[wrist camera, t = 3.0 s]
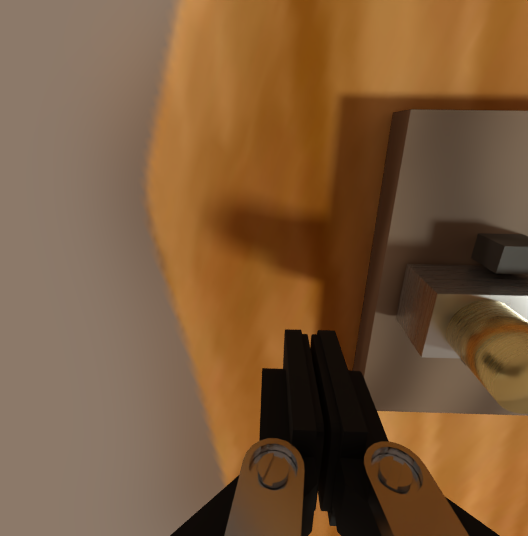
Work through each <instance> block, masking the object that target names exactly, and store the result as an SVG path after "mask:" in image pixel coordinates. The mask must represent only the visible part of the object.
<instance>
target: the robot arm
mask: <svg viewBox="0 0 528 536" xmlns="http://www.w3.org/2000/svg"><path fill="white" fill-rule="evenodd" d="M317 493H318V495H319V503H320V509H321V511H328V517H329V524H330V526H337V532H338V533H339V534H340V535H341V536H499V535H498V534H497V533H495V532H494V531H492V530H491V529H490V528H488V527H487V526H485V525H484V524H483V523H481V522H480V521H478V520H477V519H476V518H474V517H473V516H471V515H470V514H469V513H467V512H466V511H464V510H463V509H462V508H460V507H459V506H457V505H456V504H455V503H453V502H452V501H450V500H449V499H448V498H446V497H445V496H444V495H443V493H442V491H441V490H440V488H439V487H438V485H437V483H436V482H435V480H434V479H433V477H432V475H431V474H430V472H429V471H428V469H427V467H426V466H425V465H424V463H423V462H422V461H421V459H420V458H419V457H418V456H417V455H416V454H414V453H413V452H412V451H411V450H410V449H408V448H406V447H404V446H402V445H400V444H397V443H393V442H389V441H388V439H387V436H386V434H385V431H384V428H383V426H382V423H381V421H380V418H379V415H378V413H377V410H376V408H375V405H374V402H373V400H372V397H371V395H370V392H369V390H368V387H367V384H366V382H365V379H364V377H363V374H362V372H360V371H348V369H347V366H346V363H345V360H344V357H343V354H342V351H341V348H340V345H339V342H338V339H337V336H336V333H335V331H328V330H318V332H317V335H316V334H312V336H311V347H310V345H309V340H308V335H307V334H302V332H301V330H285V338H284V360H283V369H267V368H262V390H261V415H260V441H258V442H257V443H255V444H253V445H252V446H251V447H250V449H249V450H248V451H247V452H246V455H245V457H244V459H243V463H242V467H241V471H240V475H239V476H238V477H236V478H235V479H234V480H233V481H232V482H231V483H230V484H228V485H227V486H226V487H225V488H224V489H223V490H222V491H220V492H219V493H218V494H217V495H216V496H215V497H214V498H213V499H212V500H210V501H209V502H208V503H207V504H206V505H205V506H203V507H202V508H201V509H200V510H199V511H198V512H197V513H195V514H194V515H193V516H192V517H191V518H190V519H189V520H187V521H186V522H185V523H184V524H183V525H182V526H181V527H179V528H178V529H177V530H176V531H175V532H174V533H173V534H171V535H170V536H308V535H309V534H310V533H311V531H312V525H313V516H314V511H315V509H316V502H317Z"/></svg>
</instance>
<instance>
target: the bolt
mask: <svg viewBox="0 0 528 536" xmlns="http://www.w3.org/2000/svg"><path fill="white" fill-rule="evenodd" d="M396 320H397V322H398V323H399V325H400V326H401V328H402V329H403V331H404V332H405V334H406V335H407V337H408V338H409V340H410V341H411V343H412V344H413V346H414V347H415V349H416V350H417V352H418V353H419V355H420V356H421V357H426V358H461V360H462V361H463V362H464V363H465V364H466V366H467V367H468V368H469V369H470V370H471V372H472V373H473V374H474V375H475V376H476V377H477V379H478V380H479V381H480V382H481V383H482V385H483V386H484V387H485V388H486V389H487V391H488V392H489V393H490V394H491V395H492V397H493V398H494V399H495V400H496V401H497V403H498V404H499V405H500V406H501V407H503V408H504V409H506V410H508V411H510V412H514V413H519V414H528V274H496V273H494V272H493V271H491V270H489V269H488V268H486V267H485V266H473V265H428V264H407V266H406V271H405V276H404V281H403V286H402V290H401V295H400V300H399V305H398V310H397V315H396Z"/></svg>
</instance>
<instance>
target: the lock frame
mask: <svg viewBox="0 0 528 536" xmlns="http://www.w3.org/2000/svg"><path fill="white" fill-rule="evenodd" d="M407 264H428V265H473V266H485V267H486V268H488V269H489V270H491V271H493V272H494V273H496V274H528V111H495V110H414V109H411V110H405V111H400V112H394V113H393V117H392V123H391V129H390V136H389V142H388V149H387V155H386V161H385V168H384V174H383V181H382V187H381V193H380V200H379V206H378V213H377V219H376V226H375V232H374V238H373V245H372V251H371V258H370V264H369V270H368V277H367V283H366V290H365V296H364V302H363V309H362V315H361V322H360V328H359V334H358V341H357V347H356V354H355V360H354V367H353V371H360V372H362V374H363V377H364V379H365V382H366V384H367V387H368V390H369V392H370V395H371V397H372V400H373V402H374V405H375V408H376V410H377V411H400V412H432V413H464V414H497V415H528V414H519V413H514V412H510V411H508V410H506V409H504V408H503V407H501V406H500V405H499V404H498V403H497V401H496V400H495V399H494V398H493V397H492V395H491V394H490V393H489V392H488V391H487V389H486V388H485V387H484V386H483V385H482V383H481V382H480V381H479V380H478V379H477V377H476V376H475V375H474V374H473V373H472V372H471V370H470V369H469V368H468V367H467V366H466V364H465V363H464V362H463V361H462V360H461V358H426V357H421V356H420V355H419V353H418V352H417V350H416V349H415V347H414V346H413V344H412V343H411V341H410V340H409V338H408V337H407V335H406V334H405V332H404V331H403V329H402V328H401V326H400V325H399V323H398V322H397V320H396V315H397V310H398V305H399V300H400V295H401V290H402V286H403V281H404V276H405V271H406V266H407Z"/></svg>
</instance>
